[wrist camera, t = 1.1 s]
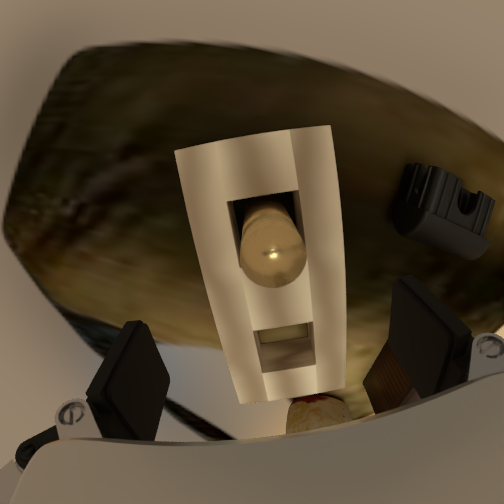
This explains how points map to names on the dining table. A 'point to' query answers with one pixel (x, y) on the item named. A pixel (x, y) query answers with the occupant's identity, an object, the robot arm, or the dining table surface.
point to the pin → (271, 244)
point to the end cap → (442, 212)
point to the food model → (316, 413)
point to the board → (262, 298)
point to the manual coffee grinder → (388, 383)
